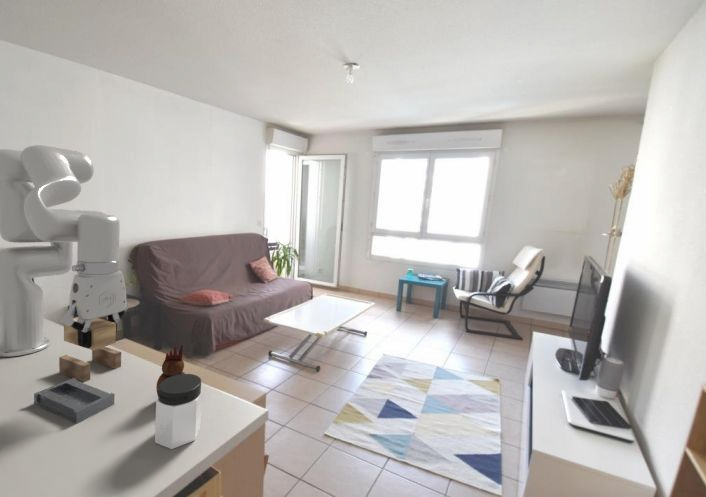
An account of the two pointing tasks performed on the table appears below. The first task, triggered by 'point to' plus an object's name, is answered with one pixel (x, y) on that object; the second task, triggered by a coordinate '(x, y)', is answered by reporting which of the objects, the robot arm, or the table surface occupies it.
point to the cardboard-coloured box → (94, 333)
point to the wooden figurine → (171, 366)
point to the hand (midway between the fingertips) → (98, 341)
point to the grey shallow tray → (73, 400)
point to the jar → (178, 410)
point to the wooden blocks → (82, 369)
